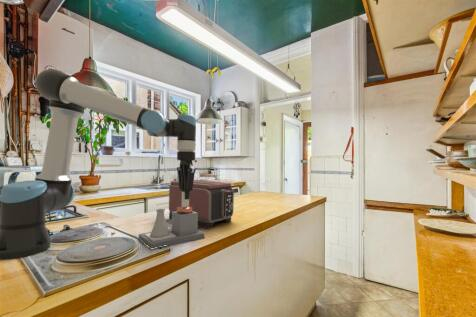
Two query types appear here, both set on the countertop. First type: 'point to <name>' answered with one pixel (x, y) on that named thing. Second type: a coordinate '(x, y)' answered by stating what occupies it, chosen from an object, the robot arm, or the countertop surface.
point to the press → (176, 231)
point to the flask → (160, 225)
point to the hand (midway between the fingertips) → (185, 206)
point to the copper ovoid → (184, 210)
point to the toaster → (205, 201)
